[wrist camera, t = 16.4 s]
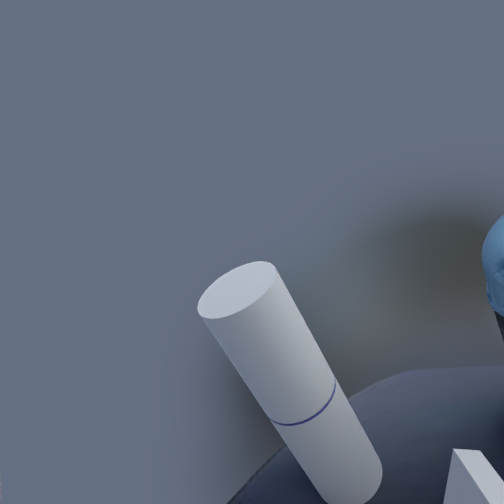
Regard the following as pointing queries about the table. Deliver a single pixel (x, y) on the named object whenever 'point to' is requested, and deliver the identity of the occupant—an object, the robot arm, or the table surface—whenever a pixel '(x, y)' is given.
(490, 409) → the table surface
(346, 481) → the cylindrical container
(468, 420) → the table surface
